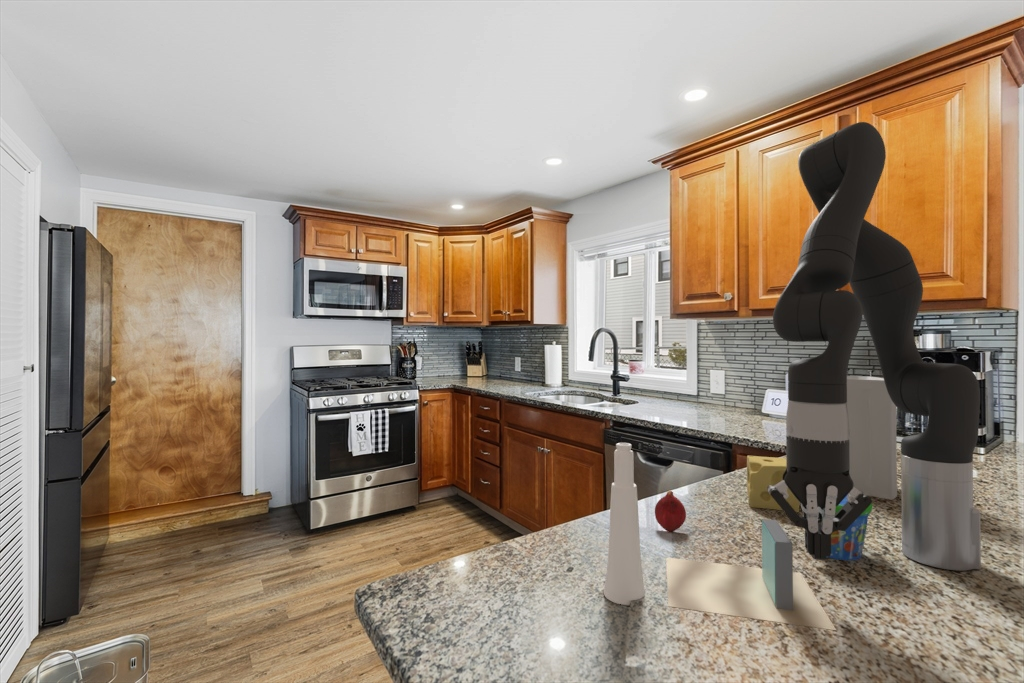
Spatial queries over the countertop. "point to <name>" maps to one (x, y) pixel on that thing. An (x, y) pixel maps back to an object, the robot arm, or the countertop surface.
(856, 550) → the snack cup
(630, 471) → the cosmetic bottle
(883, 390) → the white grooved panel
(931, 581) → the countertop surface
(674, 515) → the onion
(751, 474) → the cheese
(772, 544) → the block
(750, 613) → the board
